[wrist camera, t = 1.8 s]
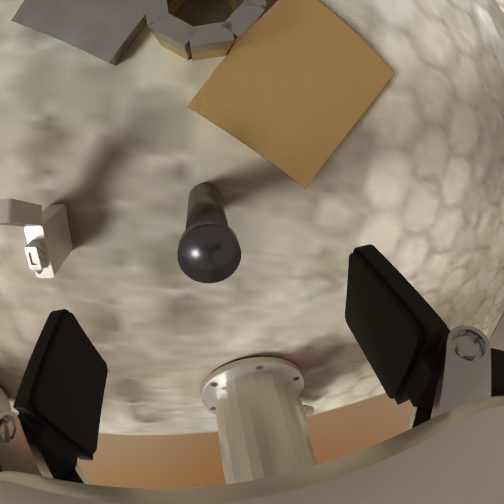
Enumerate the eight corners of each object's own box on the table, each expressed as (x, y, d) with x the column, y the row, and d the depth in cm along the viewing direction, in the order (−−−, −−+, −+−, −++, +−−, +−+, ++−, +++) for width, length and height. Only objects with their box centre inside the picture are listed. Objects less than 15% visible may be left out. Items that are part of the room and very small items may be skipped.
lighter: (73, 250, 21) (35, 309, 14) (56, 250, 21) (16, 308, 14) (61, 167, 18) (5, 202, 11) (44, 169, 18) (-15, 204, 11)
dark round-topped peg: (232, 192, 21) (253, 247, 14) (210, 224, 22) (218, 292, 15) (199, 171, 20) (199, 215, 13) (177, 204, 21) (166, 265, 14)
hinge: (384, 73, 18) (423, 72, 14) (298, 182, 22) (323, 203, 18) (113, -84, 7) (100, -112, 3) (20, 23, 11) (-14, 14, 6)
